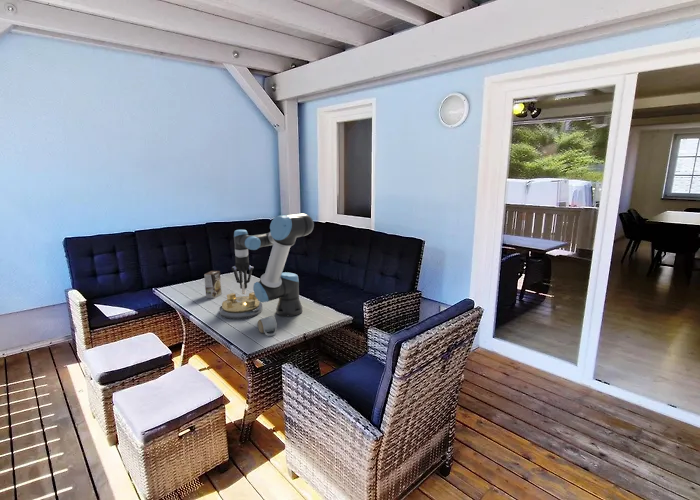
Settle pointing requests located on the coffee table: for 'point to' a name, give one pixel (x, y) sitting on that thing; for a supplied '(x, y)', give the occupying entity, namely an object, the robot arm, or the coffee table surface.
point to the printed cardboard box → (213, 284)
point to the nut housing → (241, 315)
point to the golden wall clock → (240, 303)
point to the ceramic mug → (267, 325)
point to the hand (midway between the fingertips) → (244, 293)
